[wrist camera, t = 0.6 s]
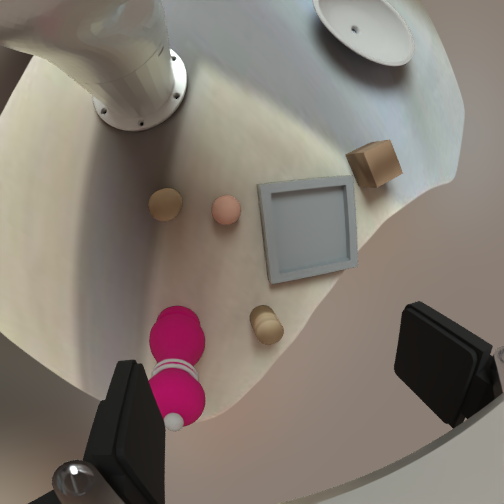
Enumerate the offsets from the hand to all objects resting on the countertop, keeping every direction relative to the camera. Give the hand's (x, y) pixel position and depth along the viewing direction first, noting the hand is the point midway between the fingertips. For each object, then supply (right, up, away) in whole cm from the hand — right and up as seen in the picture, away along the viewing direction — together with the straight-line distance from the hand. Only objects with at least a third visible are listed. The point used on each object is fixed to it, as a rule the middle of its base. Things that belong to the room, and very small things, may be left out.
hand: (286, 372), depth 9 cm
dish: (+15, +38, +26) cm, 48 cm away
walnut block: (+15, +17, +31) cm, 38 cm away
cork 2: (0, -5, +33) cm, 34 cm away
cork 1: (-12, +10, +27) cm, 31 cm away
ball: (-4, +9, +27) cm, 29 cm away
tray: (+7, +8, +31) cm, 33 cm away
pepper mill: (-12, -6, +31) cm, 34 cm away
